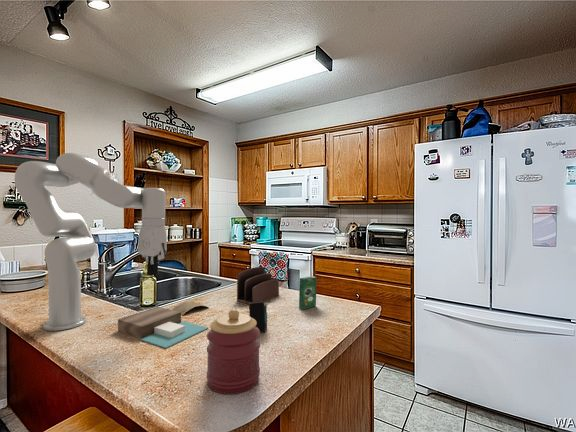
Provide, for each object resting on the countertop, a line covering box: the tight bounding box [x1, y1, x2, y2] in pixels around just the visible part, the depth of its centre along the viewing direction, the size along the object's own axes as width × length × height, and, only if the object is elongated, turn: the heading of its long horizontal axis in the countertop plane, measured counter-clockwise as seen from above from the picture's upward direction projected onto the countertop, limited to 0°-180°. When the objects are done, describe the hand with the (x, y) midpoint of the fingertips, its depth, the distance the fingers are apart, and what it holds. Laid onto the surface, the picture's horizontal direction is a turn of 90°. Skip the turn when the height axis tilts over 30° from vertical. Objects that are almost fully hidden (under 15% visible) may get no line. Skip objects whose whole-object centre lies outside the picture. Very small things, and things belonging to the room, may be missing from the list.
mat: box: [139, 320, 209, 350], centre depth 103 cm, size 12×18×1 cm, turn 151°
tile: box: [154, 322, 185, 338], centre depth 104 cm, size 8×6×2 cm
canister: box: [206, 308, 261, 395], centre depth 76 cm, size 13×13×18 cm
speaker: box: [248, 301, 268, 334], centre depth 108 cm, size 8×6×10 cm
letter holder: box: [236, 266, 280, 305], centre depth 146 cm, size 10×20×14 cm, turn 146°
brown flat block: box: [117, 306, 182, 339], centre depth 110 cm, size 13×16×4 cm
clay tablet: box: [171, 301, 210, 316], centre depth 129 cm, size 14×10×3 cm
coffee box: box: [298, 276, 317, 310], centre depth 132 cm, size 8×3×13 cm, turn 129°
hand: (152, 274), depth 108 cm, fingers closed
